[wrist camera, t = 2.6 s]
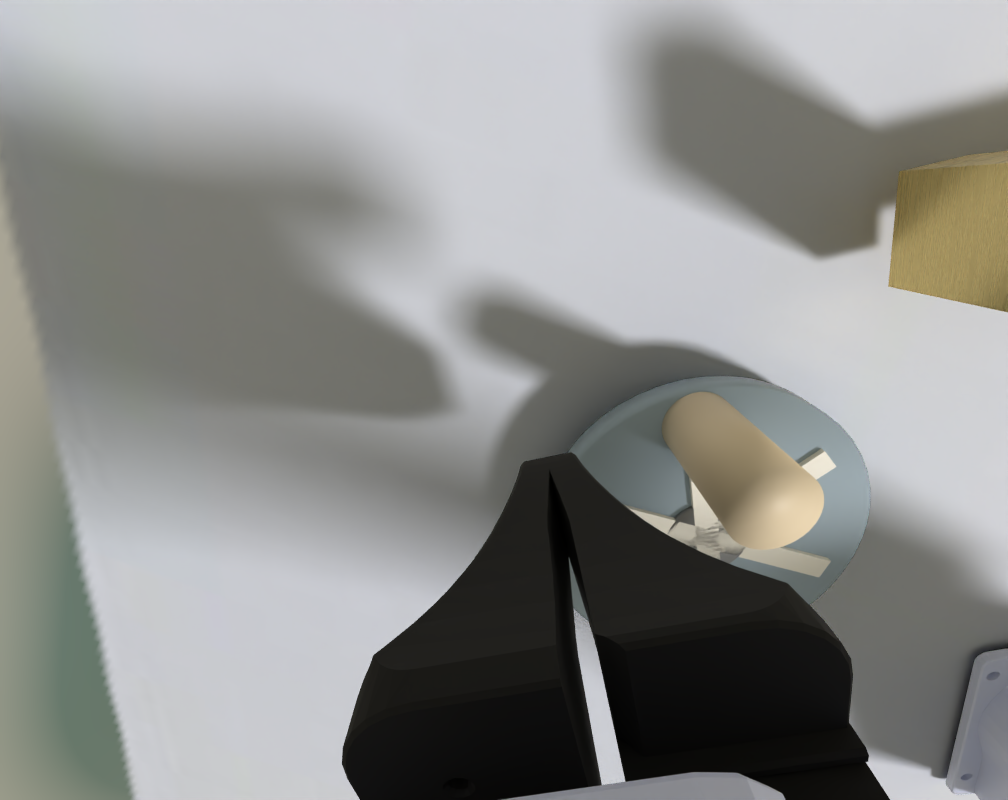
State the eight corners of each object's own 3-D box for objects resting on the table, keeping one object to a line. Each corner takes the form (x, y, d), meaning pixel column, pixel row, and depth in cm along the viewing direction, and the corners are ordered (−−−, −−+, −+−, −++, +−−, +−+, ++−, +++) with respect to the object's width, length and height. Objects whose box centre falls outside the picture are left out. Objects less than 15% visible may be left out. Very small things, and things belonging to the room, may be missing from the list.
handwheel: (839, 599, 17) (964, 745, 13) (571, 645, 18) (595, 797, 13) (858, 342, 13) (1046, 416, 9) (515, 414, 14) (523, 517, 10)
